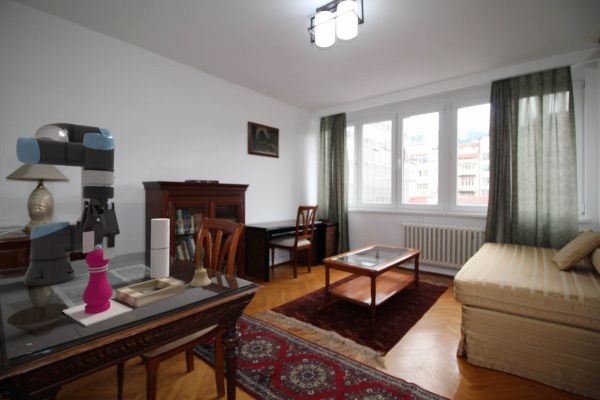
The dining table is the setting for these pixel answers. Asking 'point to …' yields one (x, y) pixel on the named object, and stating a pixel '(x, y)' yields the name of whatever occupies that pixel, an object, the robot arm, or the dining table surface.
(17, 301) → the dining table surface
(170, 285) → the maple frame
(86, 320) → the plastic pad
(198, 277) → the hand bell
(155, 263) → the cylindrical container
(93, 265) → the pepper mill
